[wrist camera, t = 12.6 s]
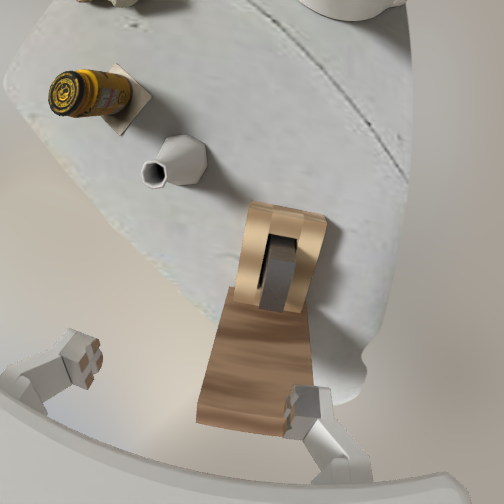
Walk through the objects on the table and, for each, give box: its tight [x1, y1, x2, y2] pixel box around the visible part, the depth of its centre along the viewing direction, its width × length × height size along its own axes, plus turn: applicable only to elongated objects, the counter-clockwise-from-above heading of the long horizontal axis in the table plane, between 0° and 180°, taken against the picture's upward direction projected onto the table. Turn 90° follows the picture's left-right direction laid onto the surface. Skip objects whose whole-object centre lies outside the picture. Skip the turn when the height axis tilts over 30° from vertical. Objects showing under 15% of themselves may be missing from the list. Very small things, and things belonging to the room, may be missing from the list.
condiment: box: [48, 63, 152, 136], centre depth 29 cm, size 7×8×12 cm
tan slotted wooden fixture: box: [196, 201, 327, 437], centre depth 34 cm, size 18×12×22 cm, turn 170°
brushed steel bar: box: [259, 234, 296, 313], centre depth 39 cm, size 7×3×9 cm, turn 170°
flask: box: [140, 134, 208, 189], centre depth 34 cm, size 7×7×10 cm
